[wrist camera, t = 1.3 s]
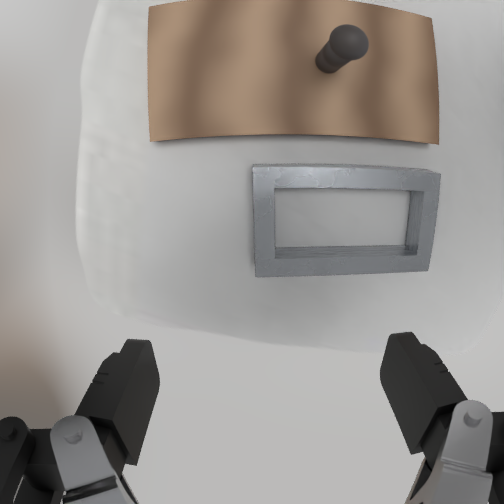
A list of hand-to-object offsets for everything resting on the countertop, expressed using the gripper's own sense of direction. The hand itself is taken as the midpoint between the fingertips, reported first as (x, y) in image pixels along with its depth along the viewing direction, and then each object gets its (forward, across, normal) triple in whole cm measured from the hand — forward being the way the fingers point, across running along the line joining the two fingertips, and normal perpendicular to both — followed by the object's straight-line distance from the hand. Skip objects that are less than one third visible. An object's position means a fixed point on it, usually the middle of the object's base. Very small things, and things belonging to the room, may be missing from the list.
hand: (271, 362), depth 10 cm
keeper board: (+18, -4, -13) cm, 23 cm away
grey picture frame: (+18, -8, 0) cm, 20 cm away
